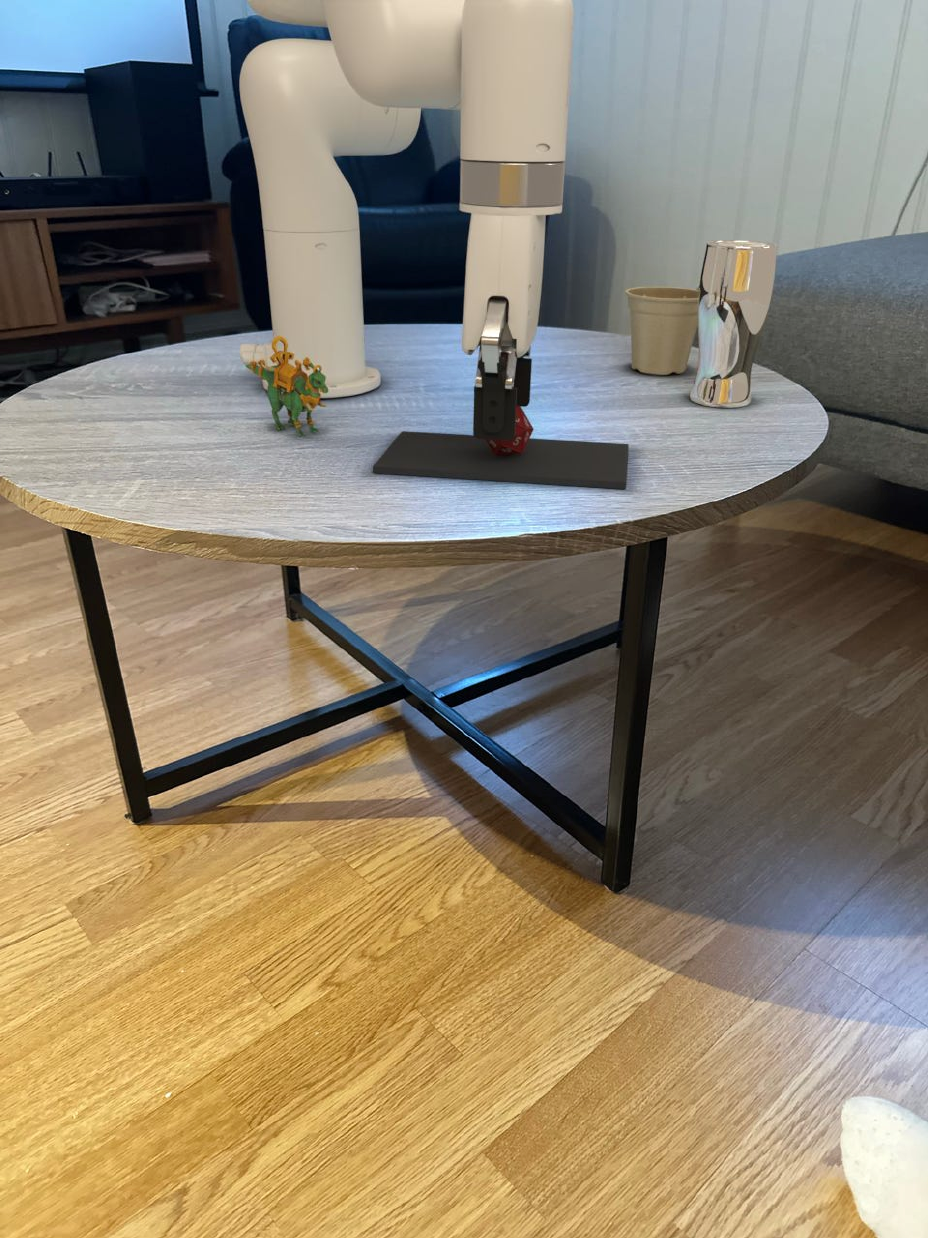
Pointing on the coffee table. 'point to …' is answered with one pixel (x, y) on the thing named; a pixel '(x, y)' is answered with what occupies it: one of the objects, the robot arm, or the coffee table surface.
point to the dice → (520, 439)
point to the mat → (507, 460)
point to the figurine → (291, 386)
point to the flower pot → (662, 328)
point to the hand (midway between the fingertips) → (502, 420)
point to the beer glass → (731, 319)
